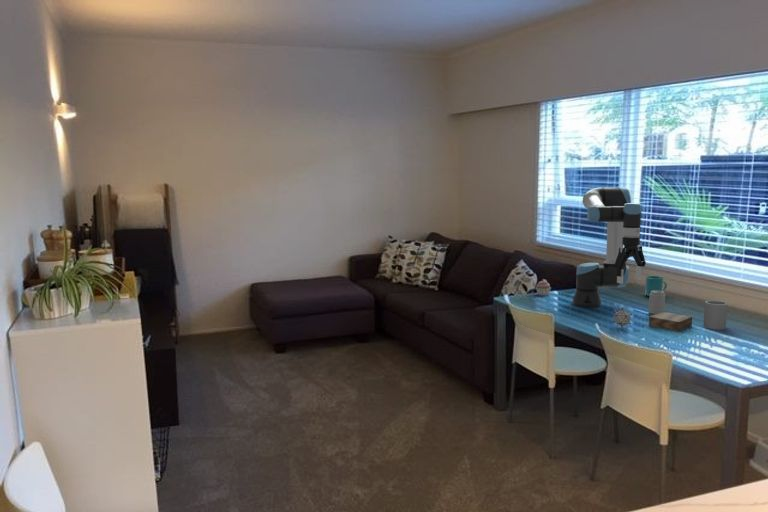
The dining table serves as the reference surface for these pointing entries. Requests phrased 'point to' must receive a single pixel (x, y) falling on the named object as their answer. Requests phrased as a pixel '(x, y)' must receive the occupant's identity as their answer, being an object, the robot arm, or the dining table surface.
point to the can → (656, 302)
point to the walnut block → (670, 321)
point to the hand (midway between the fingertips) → (629, 281)
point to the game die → (622, 318)
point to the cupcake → (543, 288)
